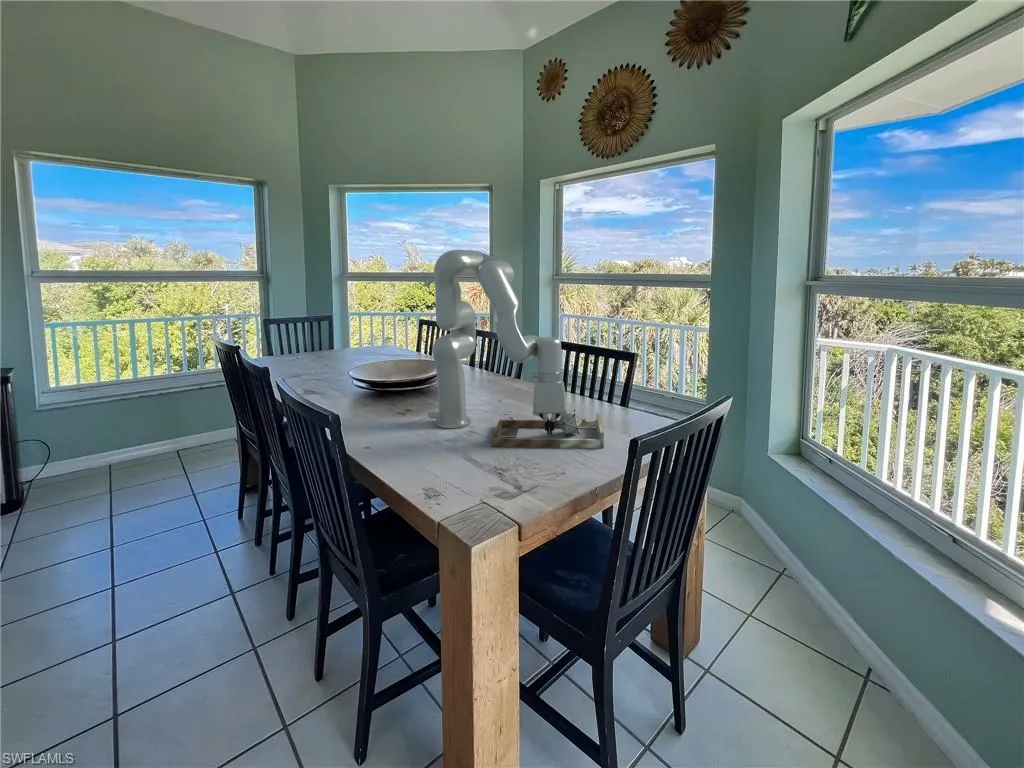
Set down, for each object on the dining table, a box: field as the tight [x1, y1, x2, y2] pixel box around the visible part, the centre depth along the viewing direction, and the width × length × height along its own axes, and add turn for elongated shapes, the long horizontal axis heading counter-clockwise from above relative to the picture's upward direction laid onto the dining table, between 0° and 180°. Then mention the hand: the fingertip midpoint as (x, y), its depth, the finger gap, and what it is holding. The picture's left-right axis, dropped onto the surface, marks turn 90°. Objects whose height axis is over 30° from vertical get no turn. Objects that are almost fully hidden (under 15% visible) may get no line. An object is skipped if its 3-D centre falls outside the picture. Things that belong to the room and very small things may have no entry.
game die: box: [555, 408, 586, 437], centre depth 162 cm, size 9×8×10 cm
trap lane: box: [490, 412, 605, 449], centre depth 161 cm, size 34×20×5 cm, turn 84°
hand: (549, 432), depth 161 cm, fingers closed
